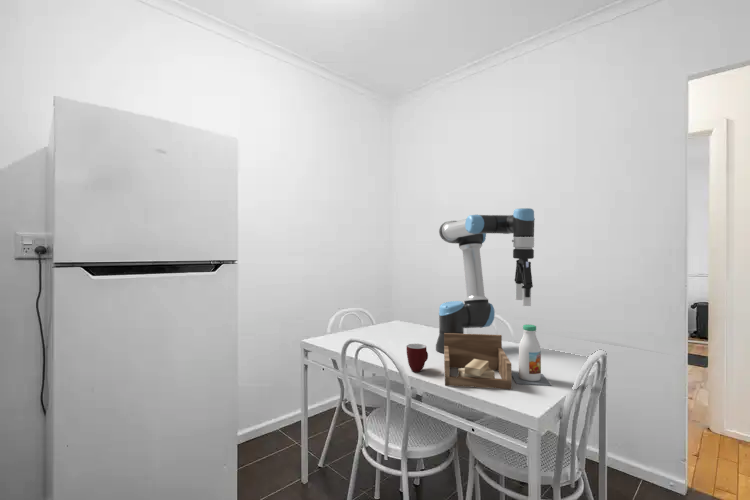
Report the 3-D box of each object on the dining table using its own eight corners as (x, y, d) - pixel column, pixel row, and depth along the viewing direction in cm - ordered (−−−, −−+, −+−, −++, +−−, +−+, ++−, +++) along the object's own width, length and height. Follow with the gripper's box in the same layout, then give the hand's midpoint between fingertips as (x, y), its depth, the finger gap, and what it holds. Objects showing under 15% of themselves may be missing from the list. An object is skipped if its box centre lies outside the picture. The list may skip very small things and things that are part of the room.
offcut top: (464, 373, 136) (464, 366, 136) (474, 365, 145) (474, 358, 145) (479, 376, 133) (479, 369, 133) (488, 367, 143) (488, 361, 142)
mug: (417, 364, 160) (417, 341, 160) (433, 368, 155) (433, 344, 155) (402, 370, 152) (402, 346, 152) (419, 375, 147) (419, 349, 147)
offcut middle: (458, 375, 142) (457, 368, 142) (487, 373, 144) (487, 366, 144) (463, 380, 136) (463, 373, 136) (494, 378, 138) (494, 371, 138)
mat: (510, 373, 149) (510, 372, 149) (542, 374, 147) (542, 373, 147) (516, 384, 137) (516, 382, 137) (551, 385, 135) (551, 384, 135)
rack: (444, 366, 158) (444, 333, 158) (501, 368, 154) (501, 334, 154) (445, 385, 136) (444, 346, 136) (511, 389, 132) (511, 349, 132)
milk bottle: (520, 381, 139) (520, 327, 139) (517, 374, 146) (517, 323, 146) (543, 382, 137) (542, 327, 137) (538, 375, 145) (538, 323, 145)
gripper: (507, 247, 159) (507, 297, 159) (519, 249, 134) (519, 308, 135) (526, 247, 157) (525, 298, 158) (542, 249, 133) (541, 308, 134)
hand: (522, 302), depth 146 cm, fingers open, 13 cm apart
